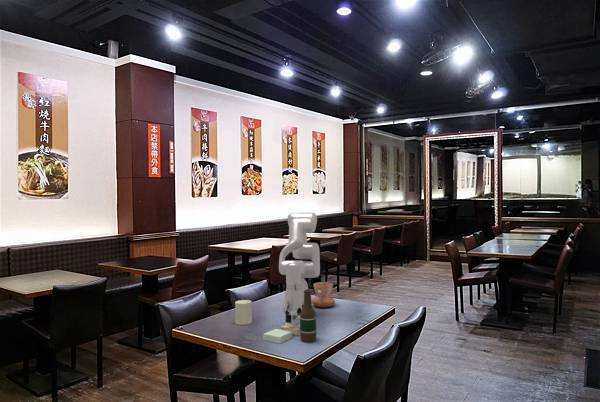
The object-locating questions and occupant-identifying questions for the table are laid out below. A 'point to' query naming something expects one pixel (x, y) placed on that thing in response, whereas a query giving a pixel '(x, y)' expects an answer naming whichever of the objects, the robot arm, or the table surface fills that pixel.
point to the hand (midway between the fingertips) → (294, 320)
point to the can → (243, 312)
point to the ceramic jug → (323, 295)
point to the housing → (294, 320)
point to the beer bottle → (307, 319)
